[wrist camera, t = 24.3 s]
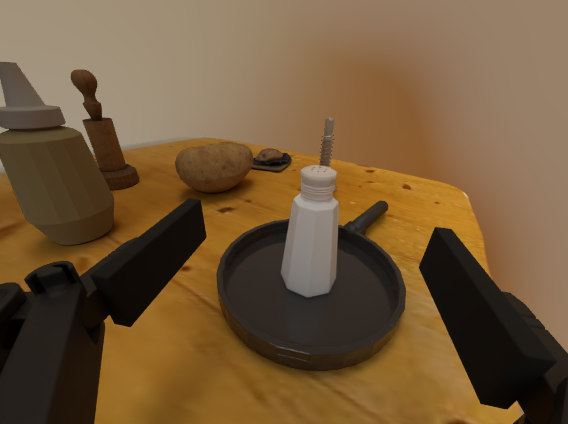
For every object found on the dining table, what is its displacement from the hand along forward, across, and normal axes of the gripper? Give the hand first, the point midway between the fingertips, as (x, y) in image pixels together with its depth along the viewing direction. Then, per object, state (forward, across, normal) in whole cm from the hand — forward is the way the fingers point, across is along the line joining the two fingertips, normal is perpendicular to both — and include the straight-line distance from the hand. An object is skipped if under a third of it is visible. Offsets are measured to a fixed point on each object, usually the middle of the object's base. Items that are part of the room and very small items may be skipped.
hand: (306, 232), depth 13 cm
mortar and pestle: (+22, -37, -10) cm, 44 cm away
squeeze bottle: (+8, -28, -10) cm, 31 cm away
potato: (+25, -18, -10) cm, 32 cm away
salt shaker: (+6, 0, -9) cm, 11 cm away
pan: (+6, 0, -10) cm, 11 cm away
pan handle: (+17, +7, -9) cm, 21 cm away
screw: (+26, 0, -10) cm, 27 cm away
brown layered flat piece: (+42, -12, -10) cm, 44 cm away
